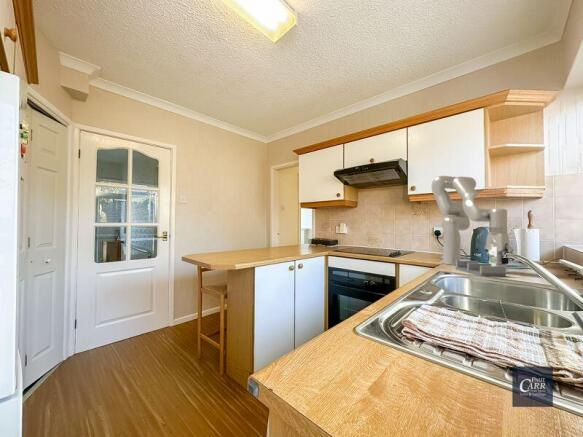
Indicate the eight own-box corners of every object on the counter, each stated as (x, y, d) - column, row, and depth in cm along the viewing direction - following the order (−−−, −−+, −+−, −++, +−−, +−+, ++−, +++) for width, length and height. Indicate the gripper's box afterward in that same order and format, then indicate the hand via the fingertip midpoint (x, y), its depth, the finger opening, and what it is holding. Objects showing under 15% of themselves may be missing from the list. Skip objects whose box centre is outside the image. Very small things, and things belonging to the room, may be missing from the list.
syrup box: (507, 273, 132) (507, 246, 132) (496, 273, 132) (496, 246, 132) (498, 271, 137) (499, 245, 137) (488, 271, 137) (488, 245, 138)
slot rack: (456, 269, 141) (456, 260, 141) (477, 269, 141) (477, 261, 141) (481, 276, 123) (481, 266, 123) (505, 276, 124) (505, 266, 124)
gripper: (478, 230, 143) (478, 260, 143) (506, 231, 126) (506, 265, 126) (490, 230, 144) (490, 260, 143) (520, 231, 126) (519, 265, 126)
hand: (497, 262), depth 134 cm, fingers open, 7 cm apart
